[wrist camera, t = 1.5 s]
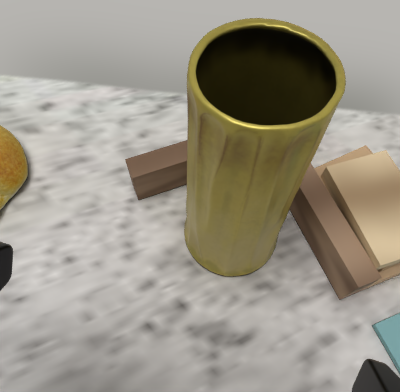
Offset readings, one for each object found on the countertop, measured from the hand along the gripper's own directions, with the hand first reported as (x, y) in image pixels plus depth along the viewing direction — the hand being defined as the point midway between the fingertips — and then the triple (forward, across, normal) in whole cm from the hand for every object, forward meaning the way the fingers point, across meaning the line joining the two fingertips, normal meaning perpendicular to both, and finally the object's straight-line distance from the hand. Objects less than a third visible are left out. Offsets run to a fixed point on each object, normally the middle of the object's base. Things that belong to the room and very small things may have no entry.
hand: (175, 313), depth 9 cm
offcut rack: (+17, -3, +3) cm, 17 cm away
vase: (+16, 0, +4) cm, 16 cm away
